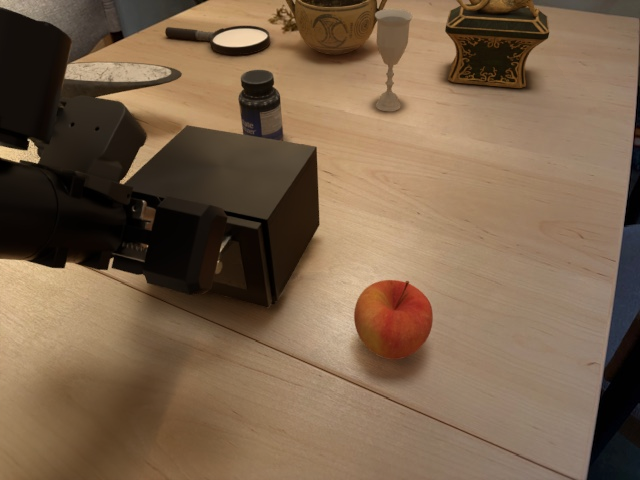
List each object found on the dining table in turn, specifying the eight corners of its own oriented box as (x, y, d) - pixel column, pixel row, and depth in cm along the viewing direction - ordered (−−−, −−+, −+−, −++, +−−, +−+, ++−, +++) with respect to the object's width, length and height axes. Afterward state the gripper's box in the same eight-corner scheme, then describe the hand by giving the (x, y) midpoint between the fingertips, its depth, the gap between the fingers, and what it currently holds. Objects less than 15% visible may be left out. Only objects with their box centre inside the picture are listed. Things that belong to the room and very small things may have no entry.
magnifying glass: (182, 27, 121) (180, 17, 120) (278, 36, 115) (278, 26, 114) (153, 47, 113) (151, 37, 111) (255, 59, 107) (254, 48, 105)
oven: (279, 314, 56) (267, 219, 47) (150, 280, 60) (118, 188, 52) (320, 237, 65) (316, 146, 56) (206, 212, 69) (186, 124, 61)
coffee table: (37, 134, 86) (14, 79, 80) (64, 108, 93) (44, 56, 86) (183, 142, 83) (170, 86, 77) (200, 115, 90) (190, 61, 83)
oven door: (250, 341, 51) (234, 262, 44) (118, 304, 55) (85, 226, 48) (272, 301, 54) (262, 222, 47) (147, 269, 58) (120, 192, 51)
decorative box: (533, 69, 99) (562, -47, 86) (534, 92, 92) (566, -31, 79) (426, 61, 103) (438, -51, 90) (420, 82, 96) (432, -36, 83)
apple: (338, 345, 53) (337, 290, 47) (385, 305, 56) (390, 250, 51) (395, 389, 49) (402, 335, 43) (442, 343, 52) (453, 288, 47)
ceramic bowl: (275, 63, 104) (267, -18, 95) (290, 32, 117) (285, -42, 107) (387, 67, 102) (392, -16, 92) (391, 34, 114) (395, -42, 104)
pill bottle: (238, 141, 83) (227, 74, 75) (271, 129, 85) (264, 63, 78) (256, 158, 79) (248, 89, 71) (291, 145, 81) (286, 77, 74)
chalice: (411, 110, 89) (420, 18, 79) (380, 116, 87) (385, 24, 77) (395, 94, 93) (401, 6, 83) (365, 100, 92) (368, 11, 82)
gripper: (185, 101, 29) (280, 163, 44) (-66, 63, 34) (96, 130, 49) (139, 299, 29) (250, 294, 44) (-107, 231, 34) (68, 247, 49)
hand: (162, 235), depth 46 cm, fingers closed
